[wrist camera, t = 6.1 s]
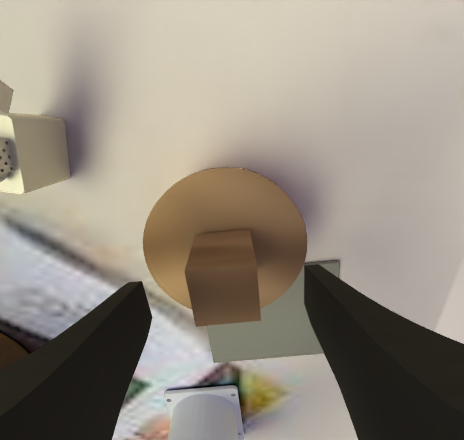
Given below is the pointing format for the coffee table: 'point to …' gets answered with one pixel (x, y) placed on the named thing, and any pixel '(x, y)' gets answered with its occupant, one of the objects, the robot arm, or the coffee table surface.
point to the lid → (225, 244)
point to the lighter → (30, 149)
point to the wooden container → (10, 352)
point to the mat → (271, 328)
